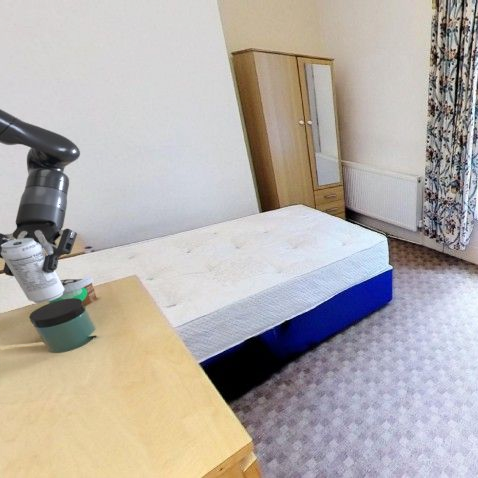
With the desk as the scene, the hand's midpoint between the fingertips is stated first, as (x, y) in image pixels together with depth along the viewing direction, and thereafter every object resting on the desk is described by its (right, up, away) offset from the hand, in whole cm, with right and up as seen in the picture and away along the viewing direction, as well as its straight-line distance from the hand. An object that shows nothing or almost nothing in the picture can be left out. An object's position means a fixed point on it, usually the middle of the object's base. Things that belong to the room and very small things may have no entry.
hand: (30, 273), depth 74 cm
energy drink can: (-1, -6, +4) cm, 8 cm away
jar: (-1, -19, +10) cm, 21 cm away
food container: (-13, -14, +21) cm, 28 cm away
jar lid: (-1, -10, +6) cm, 12 cm away
